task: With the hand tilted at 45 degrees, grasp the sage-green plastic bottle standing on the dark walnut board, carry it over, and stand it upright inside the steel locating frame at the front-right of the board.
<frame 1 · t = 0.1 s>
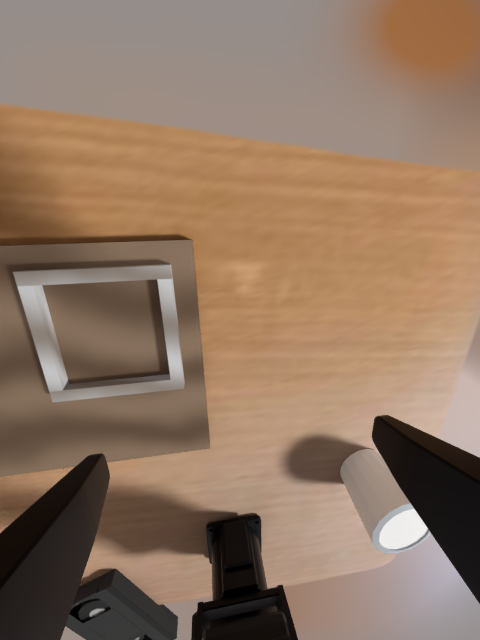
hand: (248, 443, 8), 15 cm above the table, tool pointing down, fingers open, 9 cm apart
white cup: (360, 465, 30), on the table
vhs tape: (123, 603, 32), on the table
board: (62, 365, 21), on the table
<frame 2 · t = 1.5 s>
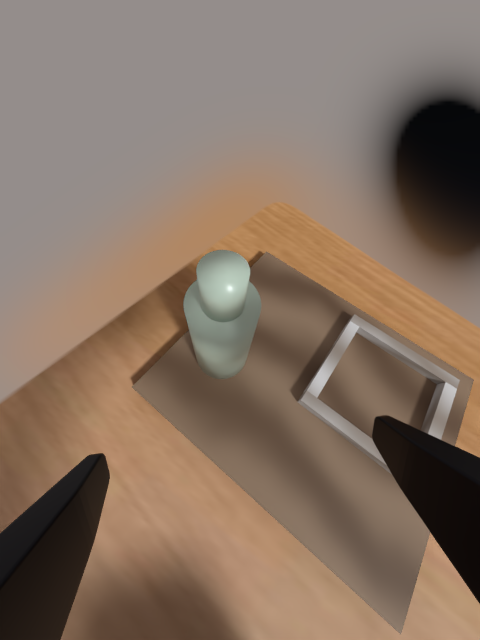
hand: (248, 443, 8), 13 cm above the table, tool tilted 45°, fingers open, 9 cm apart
bottle: (221, 354, 22), point 1 cm above the table, touching board
board: (309, 385, 23), on the table
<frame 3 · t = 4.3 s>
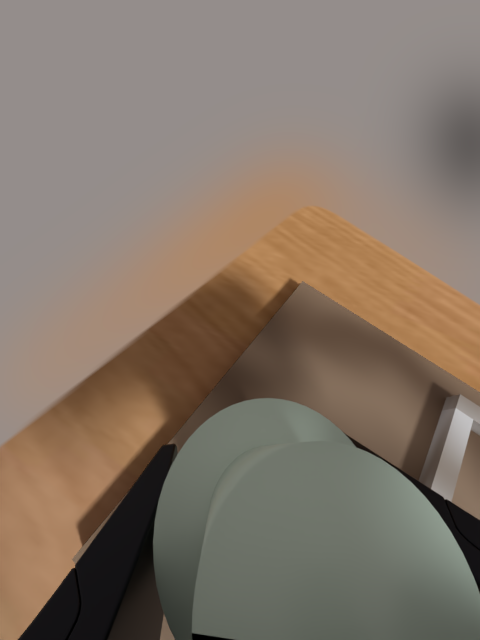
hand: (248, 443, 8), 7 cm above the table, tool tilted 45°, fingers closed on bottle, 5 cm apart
bottle: (240, 475, 13), point 1 cm above the table, touching board, gripper
board: (393, 530, 13), on the table
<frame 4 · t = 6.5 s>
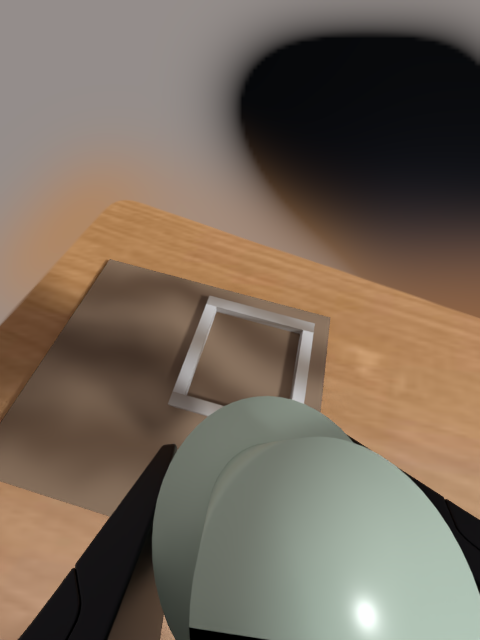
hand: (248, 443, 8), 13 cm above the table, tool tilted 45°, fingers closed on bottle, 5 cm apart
bottle: (240, 474, 13), point 8 cm above the table, touching gripper
board: (184, 382, 22), on the table
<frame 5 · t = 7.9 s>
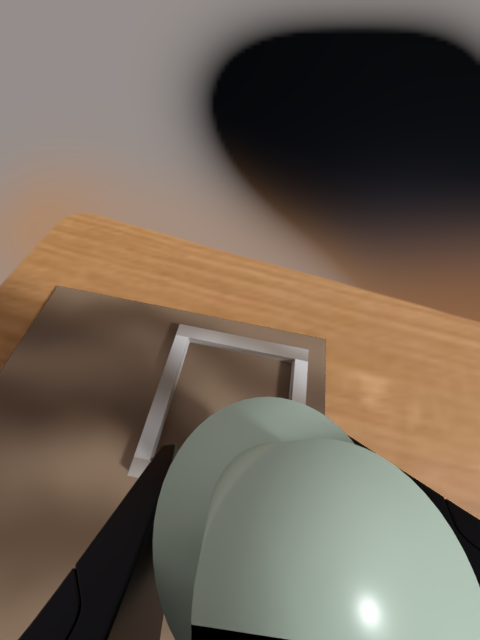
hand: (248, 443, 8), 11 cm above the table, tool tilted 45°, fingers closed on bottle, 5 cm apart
bottle: (240, 475, 13), point 5 cm above the table, touching gripper
board: (152, 437, 18), on the table
when the fingers open (8 cm above the table, at t = 9.1 s): bottle drops 1 cm, resting on board.
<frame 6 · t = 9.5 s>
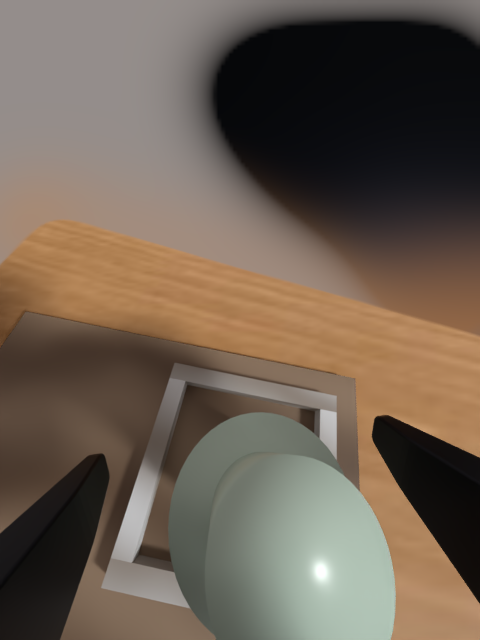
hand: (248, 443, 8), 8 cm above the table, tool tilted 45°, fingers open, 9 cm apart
bottle: (238, 474, 14), point 1 cm above the table, touching board
board: (138, 515, 14), on the table
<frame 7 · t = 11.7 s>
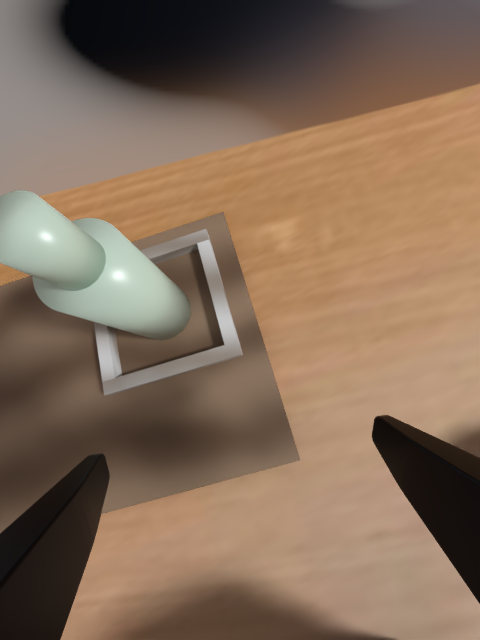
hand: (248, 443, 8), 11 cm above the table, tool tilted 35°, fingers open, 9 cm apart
bottle: (163, 311, 20), point 1 cm above the table, touching board
board: (118, 365, 20), on the table
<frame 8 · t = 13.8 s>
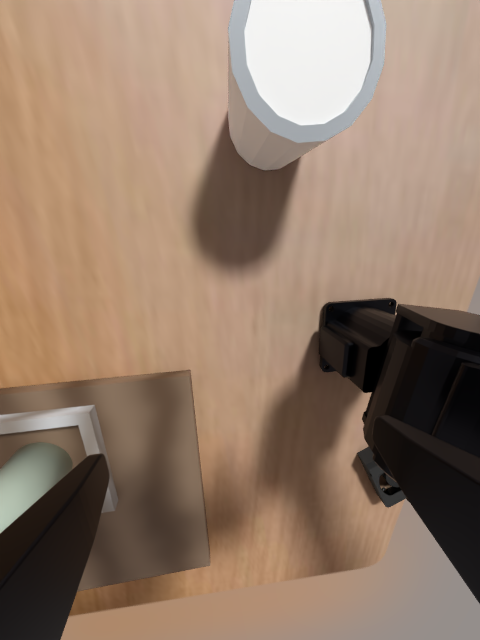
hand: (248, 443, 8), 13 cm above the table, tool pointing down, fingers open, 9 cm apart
bottle: (42, 464, 21), point 1 cm above the table, touching board
white cup: (268, 125, 17), on the table
vhs tape: (418, 441, 29), on the table
board: (96, 491, 24), on the table
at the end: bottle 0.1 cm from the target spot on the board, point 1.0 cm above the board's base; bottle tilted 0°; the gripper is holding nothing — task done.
